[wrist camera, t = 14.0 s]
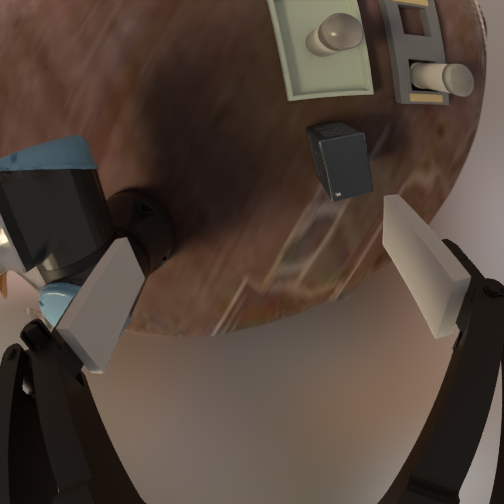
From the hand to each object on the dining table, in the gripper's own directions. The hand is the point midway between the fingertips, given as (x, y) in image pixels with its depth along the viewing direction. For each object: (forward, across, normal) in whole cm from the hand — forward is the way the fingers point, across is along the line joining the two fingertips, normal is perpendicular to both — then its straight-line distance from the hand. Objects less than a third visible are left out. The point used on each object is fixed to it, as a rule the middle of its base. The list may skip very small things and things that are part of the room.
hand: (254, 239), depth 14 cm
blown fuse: (+30, +11, +12) cm, 34 cm away
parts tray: (+31, +11, +12) cm, 35 cm away
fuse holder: (+31, +26, +12) cm, 42 cm away
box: (+31, +10, -4) cm, 33 cm away
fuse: (+31, +26, +7) cm, 41 cm away
